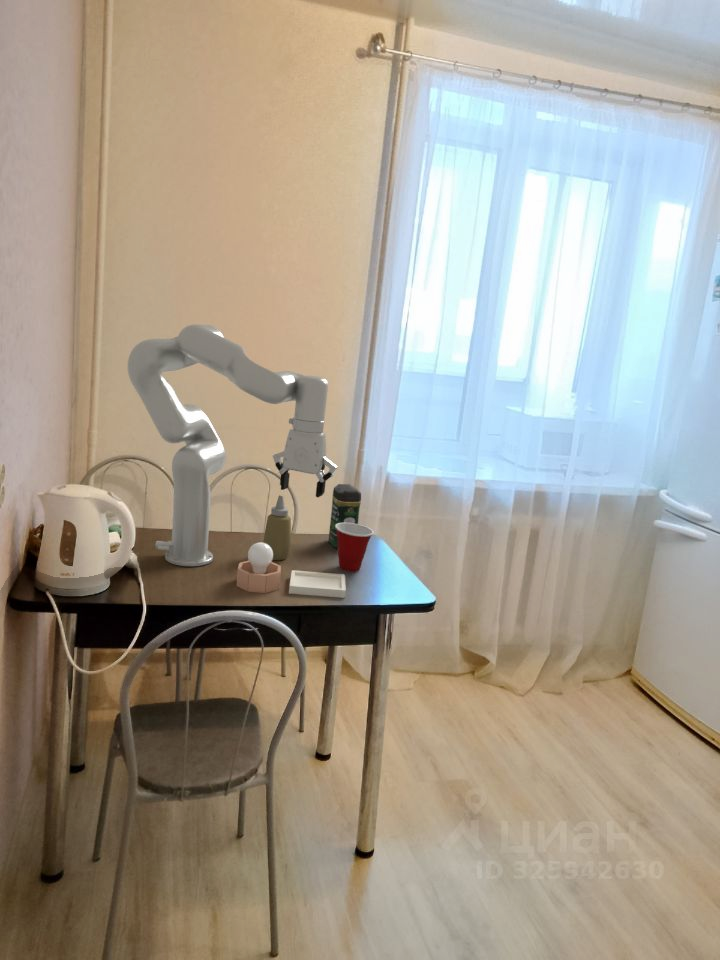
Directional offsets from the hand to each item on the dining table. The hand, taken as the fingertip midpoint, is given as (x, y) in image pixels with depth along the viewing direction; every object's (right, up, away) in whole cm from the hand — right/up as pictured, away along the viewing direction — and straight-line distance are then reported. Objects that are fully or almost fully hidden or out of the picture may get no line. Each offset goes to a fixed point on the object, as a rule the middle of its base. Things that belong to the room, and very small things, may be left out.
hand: (301, 492), depth 184 cm
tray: (+4, -24, +2) cm, 25 cm away
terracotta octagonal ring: (-11, -23, 0) cm, 26 cm away
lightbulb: (-11, -23, 0) cm, 26 cm away
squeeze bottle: (-9, -19, +21) cm, 29 cm away
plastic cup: (+12, -22, +18) cm, 31 cm away
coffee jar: (+9, -17, +37) cm, 42 cm away
